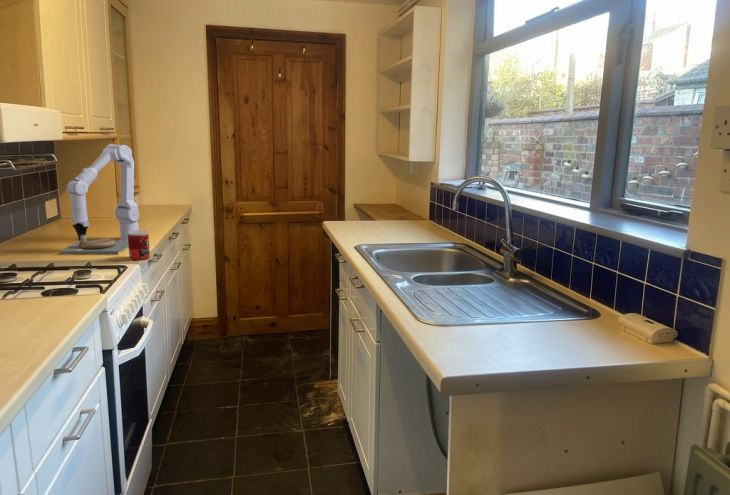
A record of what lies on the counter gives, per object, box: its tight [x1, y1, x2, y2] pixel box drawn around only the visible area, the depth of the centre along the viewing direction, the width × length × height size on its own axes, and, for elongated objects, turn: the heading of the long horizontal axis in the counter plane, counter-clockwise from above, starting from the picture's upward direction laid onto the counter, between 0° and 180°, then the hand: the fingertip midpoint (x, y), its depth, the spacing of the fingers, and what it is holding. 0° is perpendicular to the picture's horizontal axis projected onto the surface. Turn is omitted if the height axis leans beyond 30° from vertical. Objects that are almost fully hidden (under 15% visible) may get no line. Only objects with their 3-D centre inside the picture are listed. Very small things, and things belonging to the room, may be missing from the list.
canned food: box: [128, 229, 151, 262], centre depth 226 cm, size 8×8×11 cm
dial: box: [79, 234, 116, 249], centre depth 239 cm, size 14×14×5 cm
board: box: [60, 240, 129, 255], centre depth 239 cm, size 19×23×2 cm
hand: (82, 240), depth 236 cm, fingers closed
